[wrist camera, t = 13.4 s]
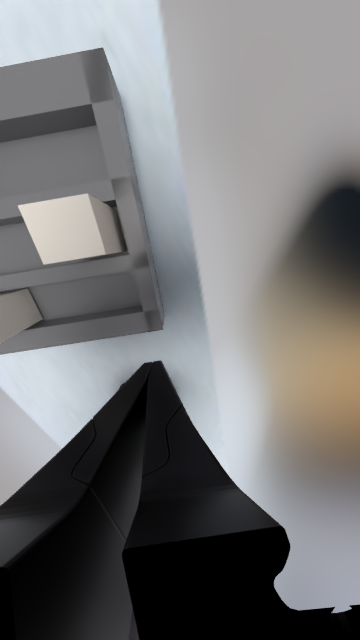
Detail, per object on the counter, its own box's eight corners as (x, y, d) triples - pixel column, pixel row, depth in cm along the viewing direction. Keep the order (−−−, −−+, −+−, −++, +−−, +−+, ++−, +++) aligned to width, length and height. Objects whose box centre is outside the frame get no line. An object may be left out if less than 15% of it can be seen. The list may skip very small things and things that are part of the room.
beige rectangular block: (126, 251, 16) (105, 254, 11) (82, 258, 16) (43, 264, 11) (115, 209, 15) (87, 193, 10) (68, 218, 15) (17, 205, 10)
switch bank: (164, 316, 20) (162, 330, 17) (-4, 342, 21) (-39, 361, 17) (119, 95, 13) (101, 43, 10) (-135, 142, 14) (-236, 109, 10)
